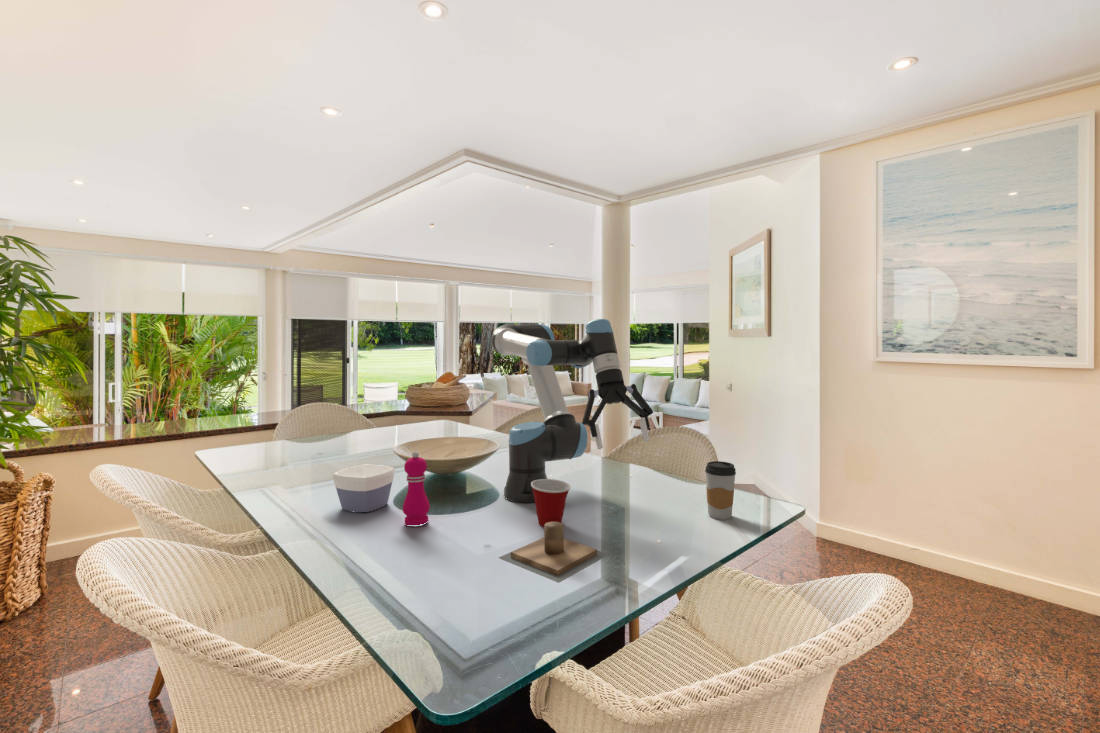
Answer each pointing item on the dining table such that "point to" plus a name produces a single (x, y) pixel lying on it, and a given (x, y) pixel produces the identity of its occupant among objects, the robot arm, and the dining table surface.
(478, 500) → the dining table surface
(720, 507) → the coffee cup
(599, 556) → the mat
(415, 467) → the pepper mill
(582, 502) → the dining table surface
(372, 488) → the bowl
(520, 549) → the lid
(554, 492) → the plastic cup
